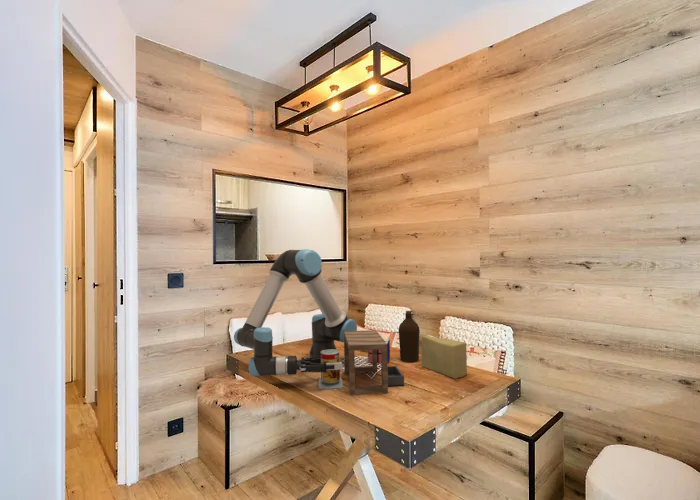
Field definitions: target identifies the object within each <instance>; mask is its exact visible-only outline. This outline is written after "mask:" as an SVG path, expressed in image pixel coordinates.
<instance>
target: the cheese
mask: <svg viewBox="0 0 700 500" xmlns="http://www.w3.org/2000/svg"><path fill="white" fill-rule="evenodd" d="M420 354H421V356H420V357H421V367H423V368H426V369H428V370H431V371H434V372H437V373H439V374H442V375H444V376H447V377H450V378H452V379H454V380H456V379H459V378H462V377H465V376H467V373H468V369H467V368H468V367H467V366H468V365H467V363H468V362H467V359H468V358H467V342H465V341H459V340H455V339H447V338H440V337H435V336H432V335H422V337H421V353H420Z"/></svg>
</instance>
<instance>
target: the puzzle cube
mask: <svg viewBox="0 0 700 500" xmlns="http://www.w3.org/2000/svg"><path fill="white" fill-rule="evenodd" d="M383 339H384V341H385V342H386V343H387V357H388V363H390V359H391V350H390V349H391V348H390V347H391V341H390V339H389V338H387V339H386V338H383ZM368 362H372V350H368V352H367V363H368ZM377 364H382V352H381V350H377Z"/></svg>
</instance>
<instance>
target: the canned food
mask: <svg viewBox="0 0 700 500" xmlns="http://www.w3.org/2000/svg"><path fill="white" fill-rule="evenodd" d="M339 357H340V351H339V350H338V349H337V350H334V349H328V350H323V351H321V364H326V363H339ZM340 372H341V371H340V370H326V373H324V372H320V378H321V381H322V382H323V383H336V382H338V381H339V380H340V377H341V376H340V375H341V374H340Z"/></svg>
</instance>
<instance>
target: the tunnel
mask: <svg viewBox="0 0 700 500" xmlns="http://www.w3.org/2000/svg"><path fill="white" fill-rule="evenodd" d="M384 339H385V338H383V337H382V335H381V334H380V333H379V332H378V331H377V330H376V329H372V330H357V331H344V342H343V352H344V353H343V354H344V355H343V356H344V357H343V363H344V364H343V365H344V368H343V369H344V375H349V377H348V381H349V385H348V386H349V389H348V390H349V395H351V396H352V395H371V394H386V393H387V394H388V393H389V387H388V364H389V362H388V357H387V343H386V342H385V341H384ZM362 350H372V363H371V365H363V366H355V364H356V362H355V359H356V358H355V351H362ZM377 350H381V352H382V363H381V367H382V376H381V384H372V385H371V384H370V385H356V374H366V373H365V372H377V373H378V363H377Z"/></svg>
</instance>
